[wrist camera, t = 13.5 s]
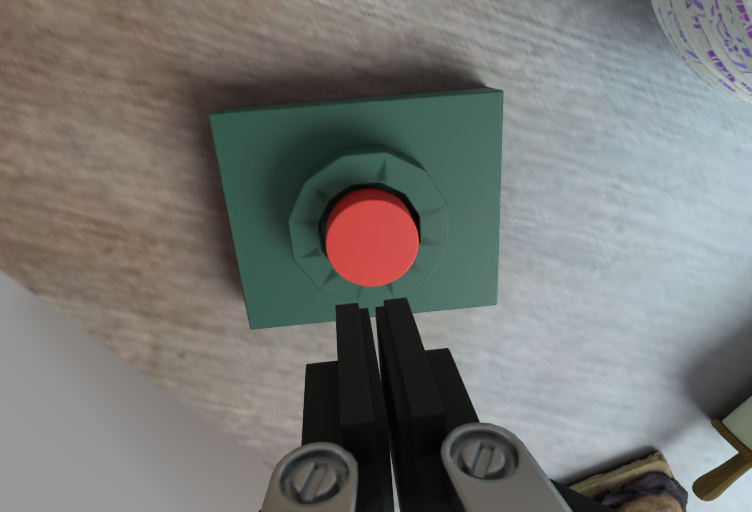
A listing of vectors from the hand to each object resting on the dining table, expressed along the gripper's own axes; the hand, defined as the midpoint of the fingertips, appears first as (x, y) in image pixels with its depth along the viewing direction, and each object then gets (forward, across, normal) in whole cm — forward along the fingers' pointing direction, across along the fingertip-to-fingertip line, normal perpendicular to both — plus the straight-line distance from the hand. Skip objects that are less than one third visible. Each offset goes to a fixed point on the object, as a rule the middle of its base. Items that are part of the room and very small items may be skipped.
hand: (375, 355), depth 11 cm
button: (+10, -1, 0) cm, 10 cm away
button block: (+13, -1, 0) cm, 13 cm away
